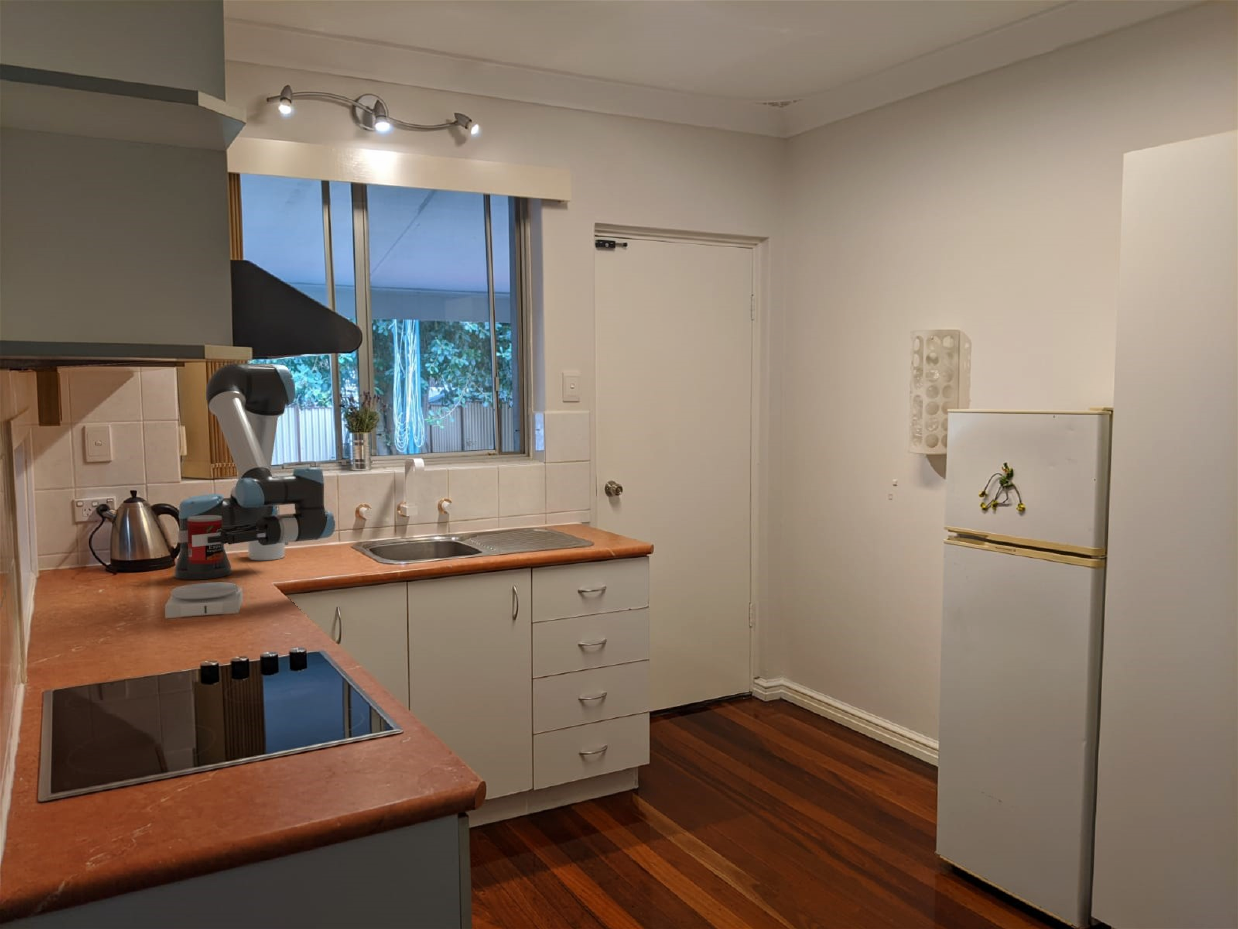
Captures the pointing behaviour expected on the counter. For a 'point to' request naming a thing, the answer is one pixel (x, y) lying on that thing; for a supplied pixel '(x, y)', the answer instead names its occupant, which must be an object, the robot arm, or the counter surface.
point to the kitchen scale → (204, 600)
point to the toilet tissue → (265, 551)
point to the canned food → (204, 526)
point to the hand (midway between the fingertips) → (185, 539)
